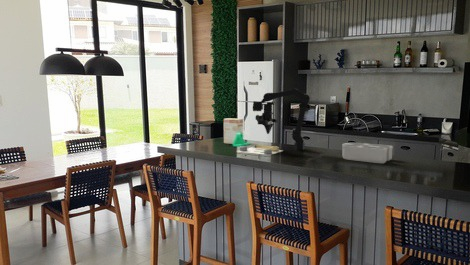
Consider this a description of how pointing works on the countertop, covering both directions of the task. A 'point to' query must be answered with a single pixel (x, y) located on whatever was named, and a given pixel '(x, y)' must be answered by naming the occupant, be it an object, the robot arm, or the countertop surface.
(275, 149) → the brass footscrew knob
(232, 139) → the coffeecake box
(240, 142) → the green tapered piece
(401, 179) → the countertop surface
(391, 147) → the ice cube tray
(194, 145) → the countertop surface
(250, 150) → the leveling plate
